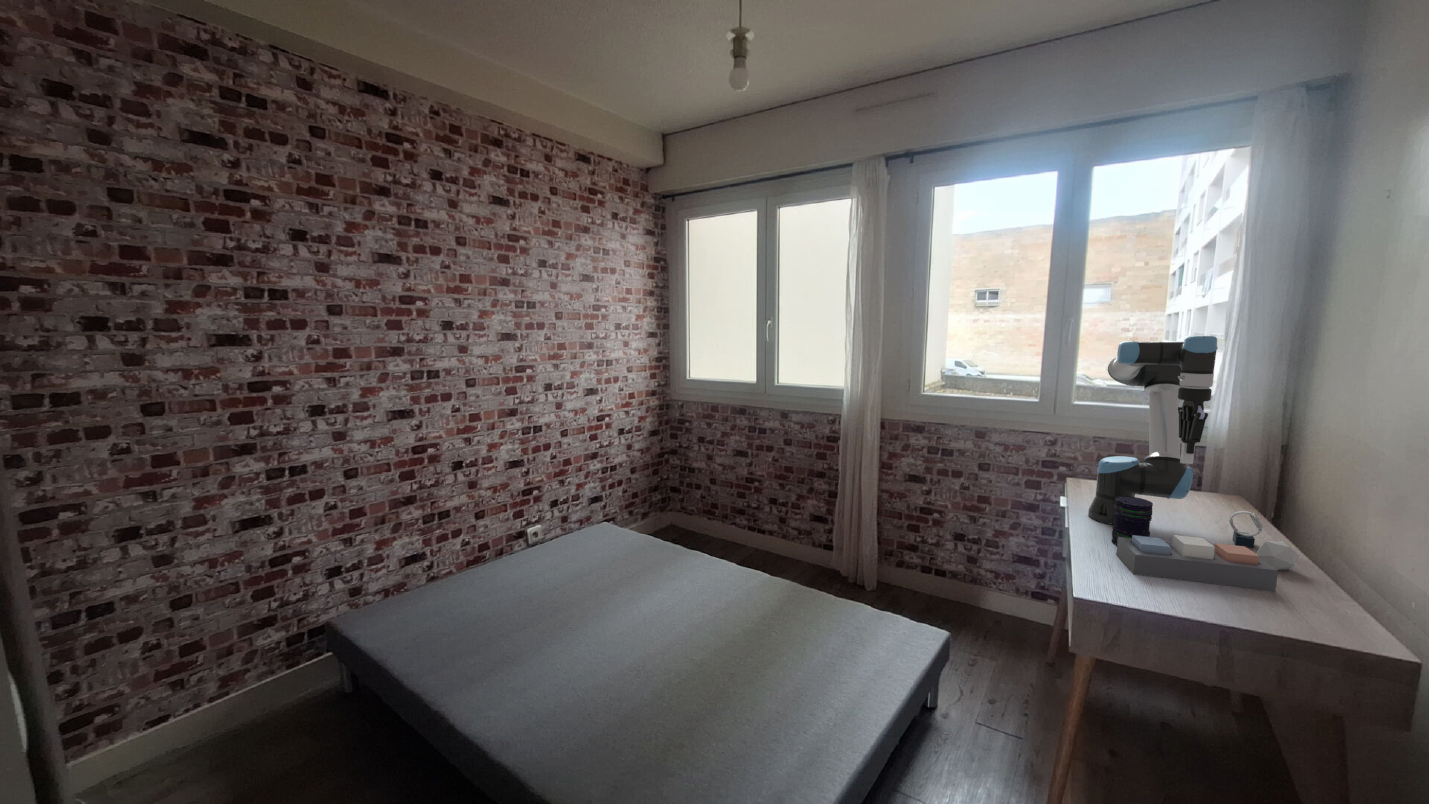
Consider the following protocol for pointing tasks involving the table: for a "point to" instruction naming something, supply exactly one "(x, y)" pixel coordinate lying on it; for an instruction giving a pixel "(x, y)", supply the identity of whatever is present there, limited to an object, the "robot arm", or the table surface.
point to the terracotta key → (1236, 553)
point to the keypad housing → (1197, 568)
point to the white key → (1193, 547)
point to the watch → (1242, 537)
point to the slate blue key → (1151, 544)
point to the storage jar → (1131, 517)
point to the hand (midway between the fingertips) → (1186, 463)
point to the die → (1278, 555)
